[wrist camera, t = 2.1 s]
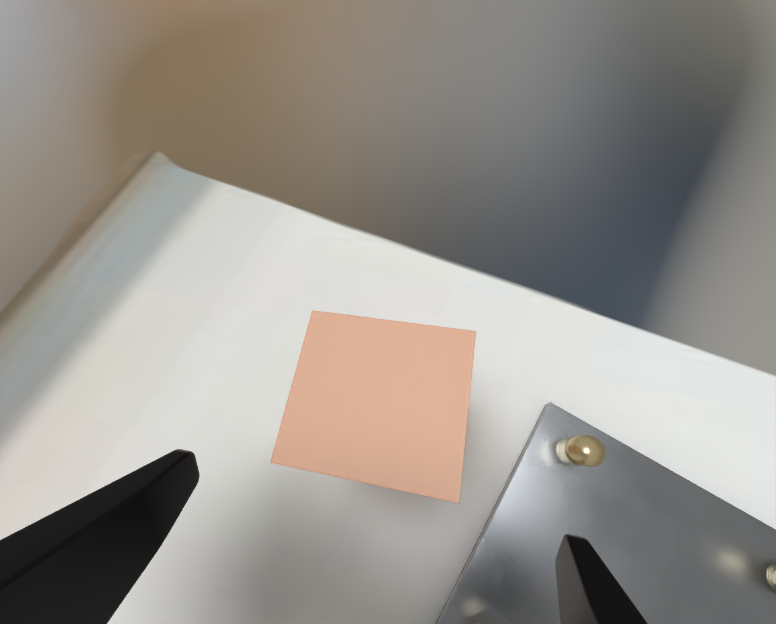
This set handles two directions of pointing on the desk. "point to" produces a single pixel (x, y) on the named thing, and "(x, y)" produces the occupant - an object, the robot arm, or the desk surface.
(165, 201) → the desk surface
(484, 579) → the standoff chassis
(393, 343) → the terracotta block
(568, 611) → the robot arm
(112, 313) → the desk surface
